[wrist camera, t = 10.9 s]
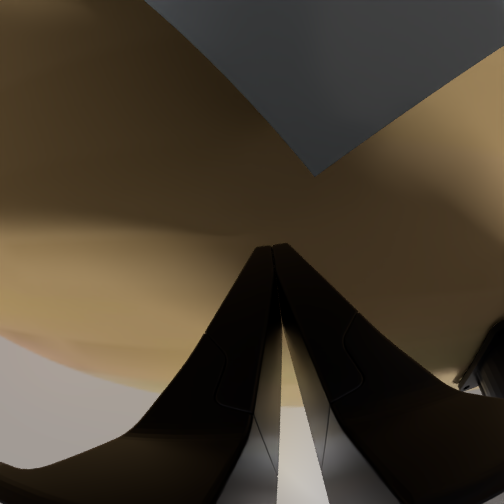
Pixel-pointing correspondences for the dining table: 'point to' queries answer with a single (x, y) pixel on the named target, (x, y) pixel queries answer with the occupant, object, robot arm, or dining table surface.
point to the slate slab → (337, 59)
